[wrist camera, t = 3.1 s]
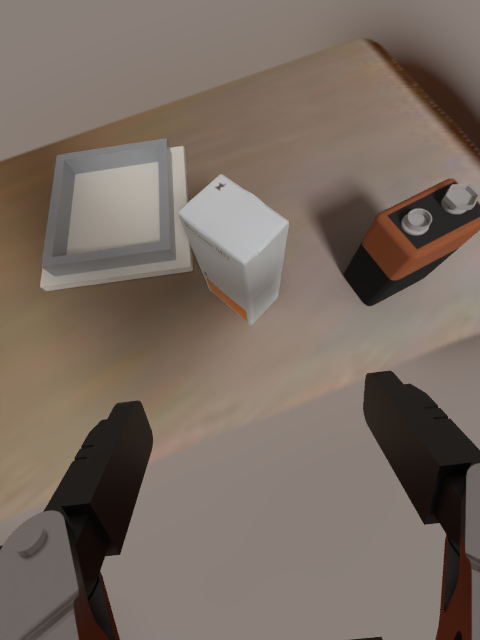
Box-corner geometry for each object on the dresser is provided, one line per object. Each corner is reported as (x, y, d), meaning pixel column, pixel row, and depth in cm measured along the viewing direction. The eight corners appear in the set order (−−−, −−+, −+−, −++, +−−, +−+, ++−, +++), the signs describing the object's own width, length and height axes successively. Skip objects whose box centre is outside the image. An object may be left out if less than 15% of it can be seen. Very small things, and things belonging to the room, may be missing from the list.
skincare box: (207, 291, 29) (173, 210, 18) (236, 263, 30) (220, 169, 18) (251, 328, 27) (244, 266, 16) (280, 298, 28) (292, 218, 17)
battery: (425, 278, 28) (509, 206, 18) (366, 309, 27) (422, 251, 18) (396, 245, 29) (461, 163, 20) (340, 274, 28) (379, 203, 19)
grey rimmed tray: (46, 291, 30) (24, 278, 27) (62, 171, 36) (45, 150, 33) (193, 271, 30) (185, 255, 27) (185, 153, 35) (178, 130, 33)
